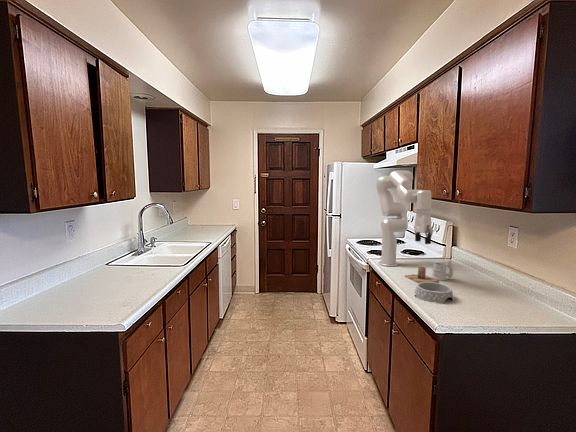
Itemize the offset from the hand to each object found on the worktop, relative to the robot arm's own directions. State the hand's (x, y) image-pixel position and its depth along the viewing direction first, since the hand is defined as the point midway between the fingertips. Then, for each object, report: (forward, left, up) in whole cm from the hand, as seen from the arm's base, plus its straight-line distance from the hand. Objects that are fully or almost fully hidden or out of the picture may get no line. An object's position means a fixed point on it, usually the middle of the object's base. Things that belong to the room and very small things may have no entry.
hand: (422, 242), depth 193 cm
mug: (+2, +12, -23) cm, 26 cm away
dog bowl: (+24, -9, -23) cm, 34 cm away
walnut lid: (+1, 0, -21) cm, 21 cm away
